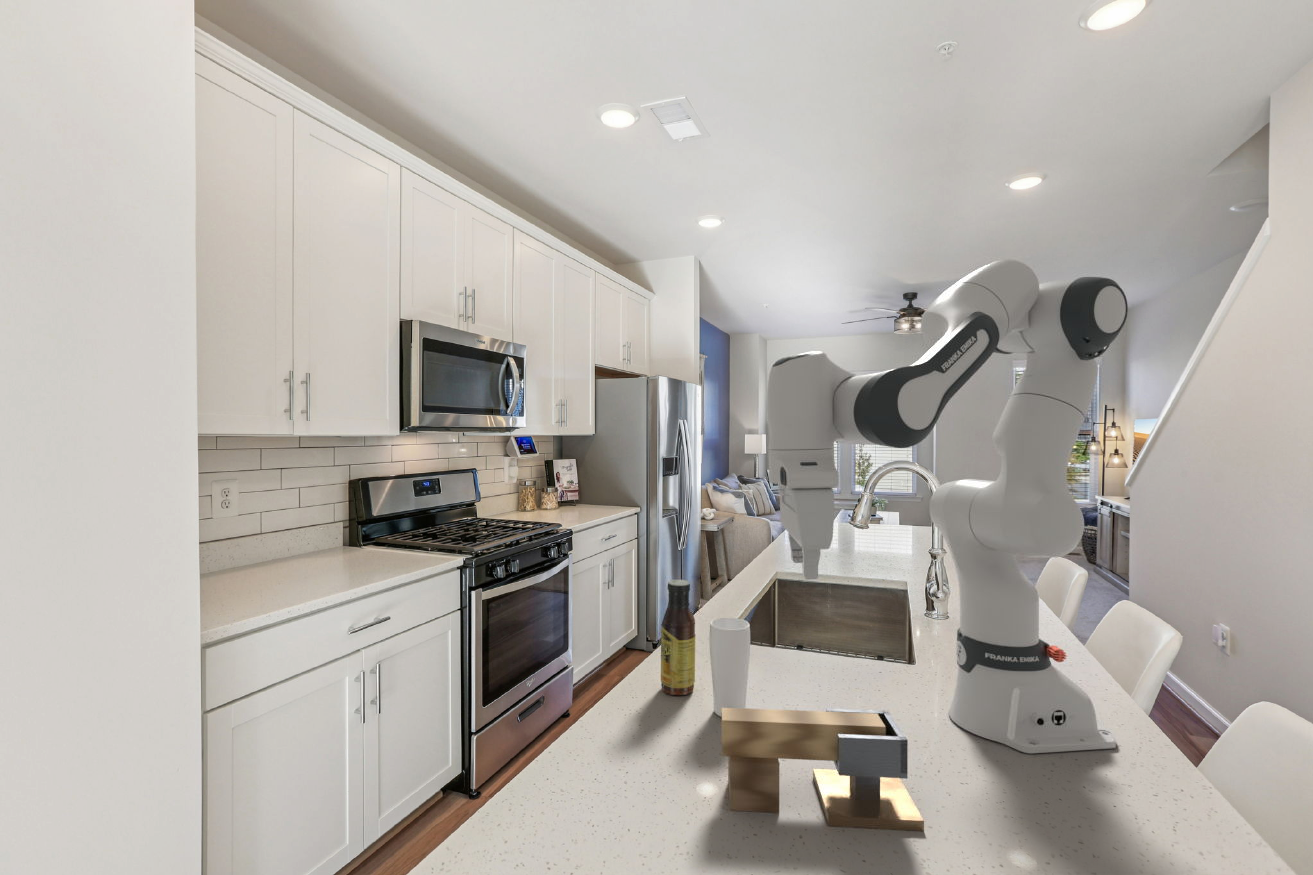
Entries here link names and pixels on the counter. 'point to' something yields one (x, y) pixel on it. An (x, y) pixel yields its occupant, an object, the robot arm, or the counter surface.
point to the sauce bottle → (678, 641)
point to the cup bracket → (869, 781)
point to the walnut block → (753, 784)
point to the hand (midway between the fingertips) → (803, 569)
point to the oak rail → (792, 732)
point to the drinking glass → (729, 662)
